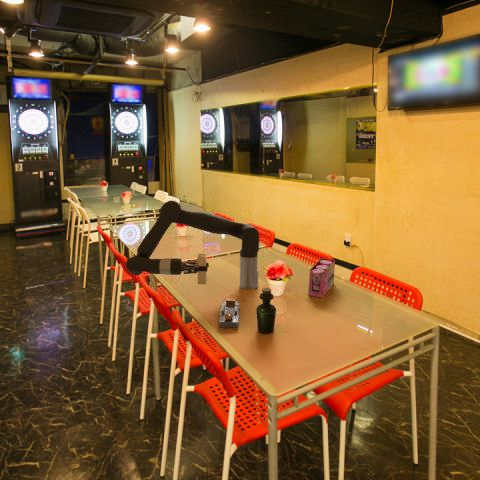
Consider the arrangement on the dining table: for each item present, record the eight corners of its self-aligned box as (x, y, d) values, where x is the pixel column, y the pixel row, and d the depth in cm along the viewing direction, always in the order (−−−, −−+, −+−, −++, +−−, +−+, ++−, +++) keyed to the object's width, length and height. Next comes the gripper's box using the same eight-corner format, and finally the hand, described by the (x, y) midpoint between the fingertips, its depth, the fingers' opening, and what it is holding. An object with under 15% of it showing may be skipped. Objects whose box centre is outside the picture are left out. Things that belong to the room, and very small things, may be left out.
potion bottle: (270, 324, 177) (270, 284, 173) (279, 333, 170) (280, 291, 165) (252, 328, 174) (253, 287, 169) (261, 336, 167) (262, 294, 162)
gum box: (322, 298, 206) (323, 272, 202) (307, 296, 209) (308, 270, 206) (334, 283, 227) (335, 260, 223) (319, 281, 230) (320, 258, 227)
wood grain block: (199, 280, 194) (198, 253, 191) (206, 280, 194) (206, 253, 191) (197, 284, 189) (197, 256, 186) (205, 284, 189) (205, 256, 186)
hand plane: (222, 307, 195) (222, 297, 194) (239, 307, 195) (239, 297, 194) (219, 328, 174) (219, 317, 172) (238, 328, 173) (238, 317, 172)
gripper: (167, 263, 182) (206, 263, 182) (173, 254, 196) (209, 254, 196) (168, 279, 184) (206, 280, 184) (173, 269, 198) (209, 269, 198)
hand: (207, 266), depth 190 cm, fingers closed on wood grain block, 5 cm apart
